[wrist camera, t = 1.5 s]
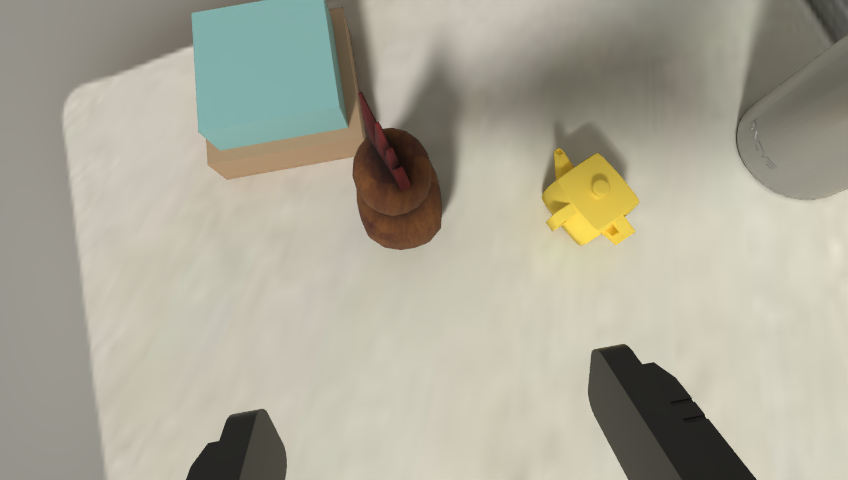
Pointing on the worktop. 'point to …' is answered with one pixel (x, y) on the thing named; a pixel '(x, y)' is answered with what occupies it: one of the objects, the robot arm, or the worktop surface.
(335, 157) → the tower base
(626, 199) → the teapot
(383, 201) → the wooden figurine
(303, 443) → the worktop surface
